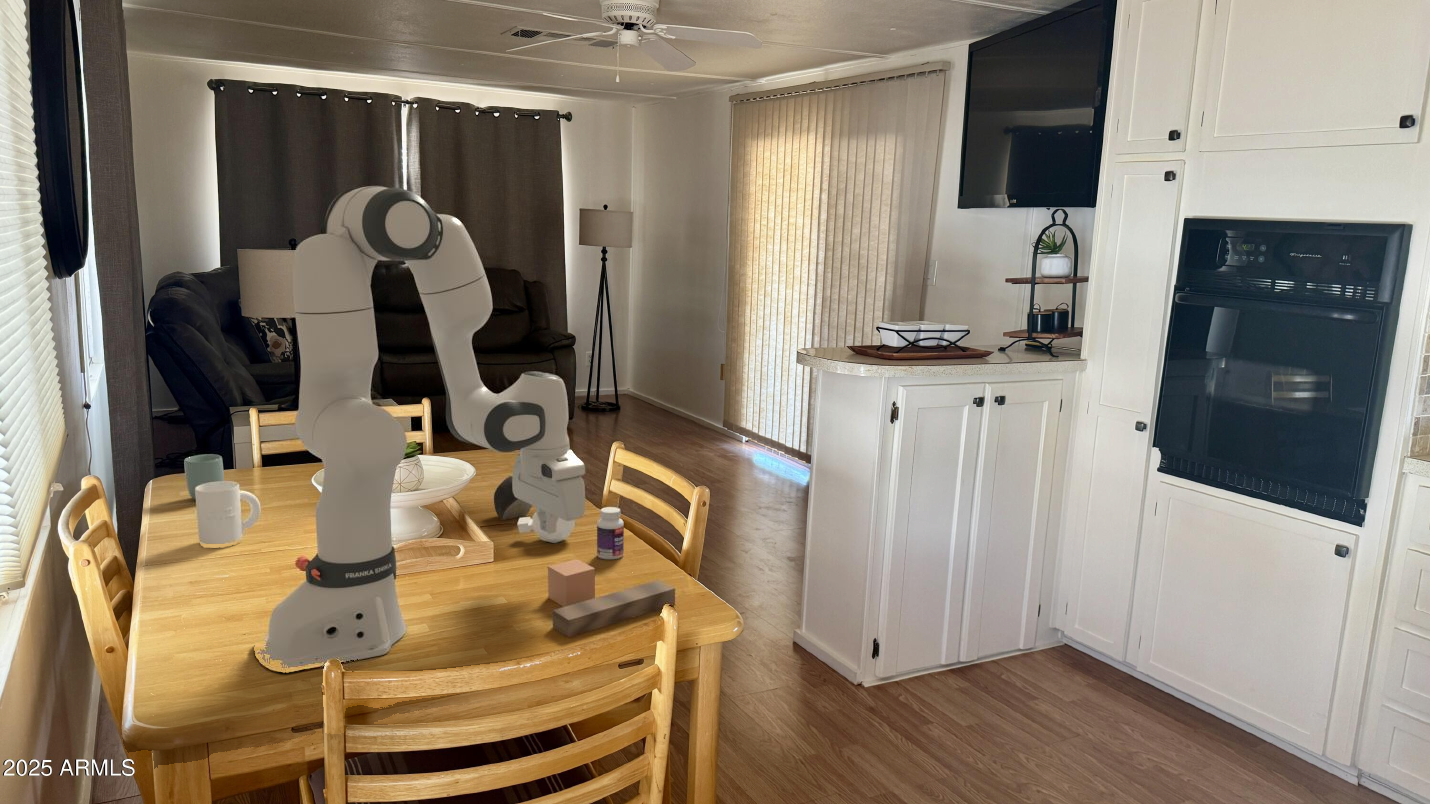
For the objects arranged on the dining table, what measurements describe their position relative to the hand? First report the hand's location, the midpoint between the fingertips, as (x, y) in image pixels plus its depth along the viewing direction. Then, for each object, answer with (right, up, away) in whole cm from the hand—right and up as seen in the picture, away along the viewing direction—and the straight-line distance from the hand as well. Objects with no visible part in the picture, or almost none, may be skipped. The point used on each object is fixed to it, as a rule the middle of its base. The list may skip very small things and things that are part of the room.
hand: (548, 531), depth 173 cm
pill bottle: (+10, -8, +17) cm, 21 cm away
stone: (-15, -3, +40) cm, 43 cm away
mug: (-69, -5, +21) cm, 73 cm away
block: (+5, -11, -5) cm, 14 cm away
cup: (-90, +1, +49) cm, 102 cm away
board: (+14, -13, -12) cm, 22 cm away
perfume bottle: (-5, -6, +25) cm, 26 cm away
